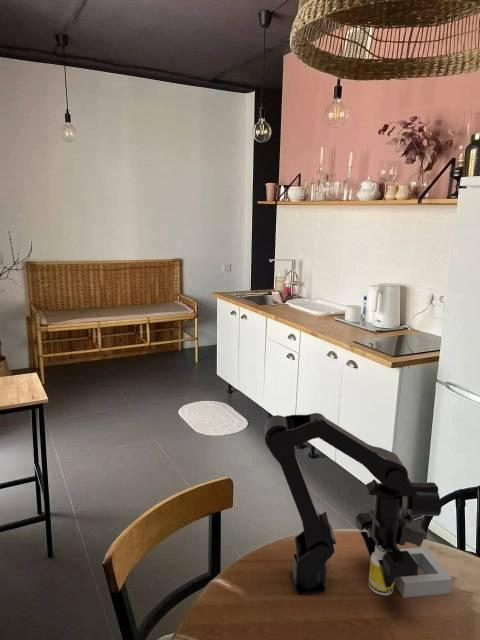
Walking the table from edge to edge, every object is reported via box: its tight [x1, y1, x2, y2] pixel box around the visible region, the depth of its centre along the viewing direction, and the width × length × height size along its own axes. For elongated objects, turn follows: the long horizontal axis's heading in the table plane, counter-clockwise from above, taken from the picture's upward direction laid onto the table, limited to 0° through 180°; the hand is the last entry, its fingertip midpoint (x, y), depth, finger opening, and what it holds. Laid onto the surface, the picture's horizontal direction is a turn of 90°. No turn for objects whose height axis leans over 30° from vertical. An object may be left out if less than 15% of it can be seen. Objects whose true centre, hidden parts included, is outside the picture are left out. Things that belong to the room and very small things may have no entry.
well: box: [394, 546, 453, 599], centre depth 107 cm, size 11×11×4 cm
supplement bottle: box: [368, 544, 395, 596], centre depth 103 cm, size 5×5×10 cm
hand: (381, 577), depth 103 cm, fingers open, 6 cm apart
